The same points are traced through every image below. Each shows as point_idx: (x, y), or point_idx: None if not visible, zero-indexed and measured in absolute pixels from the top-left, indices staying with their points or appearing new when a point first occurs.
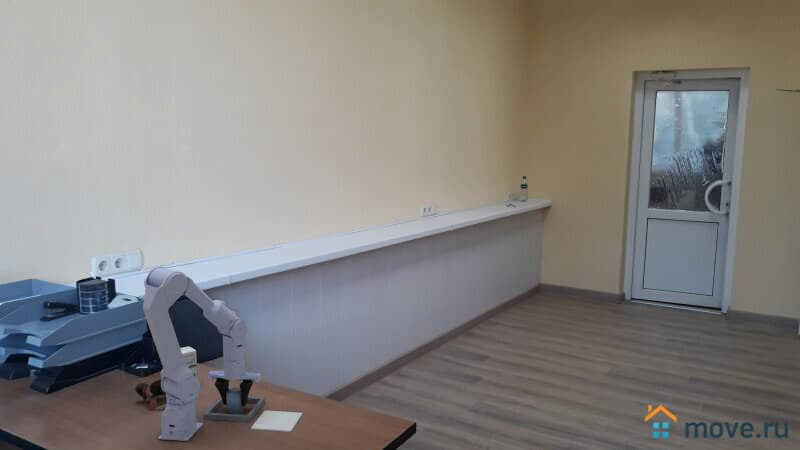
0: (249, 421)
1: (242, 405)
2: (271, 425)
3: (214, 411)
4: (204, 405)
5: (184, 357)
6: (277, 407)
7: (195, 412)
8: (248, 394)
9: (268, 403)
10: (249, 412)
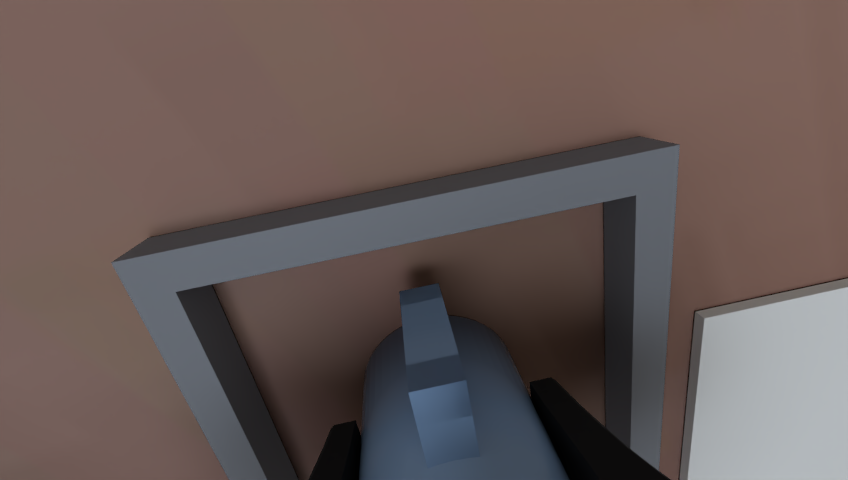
0: None
1: None
2: (804, 476)
3: (286, 458)
4: (89, 396)
5: None
6: (788, 193)
7: None
8: (623, 444)
9: (679, 138)
10: None
